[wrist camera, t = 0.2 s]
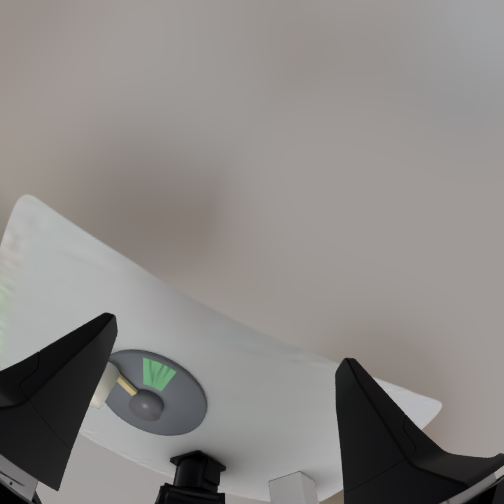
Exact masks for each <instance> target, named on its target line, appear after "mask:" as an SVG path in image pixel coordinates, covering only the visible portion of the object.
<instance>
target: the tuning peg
mask: <svg viewBox="0 0 504 504" xmlns="http://www.w3.org/2000/svg"><path fill="white" fill-rule="evenodd" d="M116 382H118V383H119V384H120V385H121V386H122V387H123V388H124V389H125V390H126V391H128V392H129V393H130V394H131V395H132V397H131V399H130V401H129V409H130V411H131V412H132V413H133V414H134V415H135V416H136V417H138V418H140V419H142V420H145V421H150V422H153V421H157V420H159V419H160V417H161V414H162V411H163V408H164V404H163V402H162V400H161V399H160V398H159V397H158V396H157V395H156V394H154V393H152V392H150V391H146V390H136V389H135V388H134V387H133V386H132V385H131V384H130V383H129V382H128V381H127V380H126V379H125V378H124V377H123V376H122V375H121V374H120V373H119V370H118V369H117V367H116V366H115V365H113V364H112V363H110V362H108V363H107V366H106V368H105V371H104V373H103V375H102V377H101V379H100V382H99V384H98V386H97V388H96V391H95V393H94V395H93V397H92V400H91V402H90V406H91V407H94V408H101V407H102V406H103V404H104V402H105V400H106V399H107V397H108V395H109V394H110V392H111V390H112V388H113V387H114V385H115V383H116Z"/></svg>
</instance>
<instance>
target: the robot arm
mask: <svg viewBox="0 0 504 504" xmlns="http://www.w3.org/2000/svg"><path fill="white" fill-rule="evenodd" d="M117 333H118V329H117V322H116V316H115V315H114V314H110V313H107V312H106V313H103V314H101V315H100V316H98V317H96V318H94V319H93V320H91V321H89V322H87V323H86V324H84V325H82V326H81V327H79V328H77V329H75V330H74V331H72V332H70V333H69V334H67V335H65V336H64V337H62V338H60V339H58V340H57V341H55V342H53V343H52V344H50V345H48V346H47V347H45V348H43V349H42V350H40V352H39V351H38V352H36V353H35V354H33V355H31V356H30V357H28V358H26V359H24V360H23V361H21V362H19V363H17V364H15V365H13V366H10V367H8V368H6V369H4V370H2V371H0V504H42V503H41V501H40V499H39V497H38V495H37V493H36V491H35V489H36V487H37V484H38V481H40V482H42V483H44V484H45V485H47V486H49V487H51V488H52V489H54V490H56V491H58V490H59V488H60V484H61V481H62V477H63V475H64V471H65V468H66V465H67V462H68V459H69V457H70V454H71V450H72V448H73V445H74V442H75V440H76V437H77V434H78V432H79V429H80V427H81V424H82V422H83V419H84V417H85V414H86V412H87V409H88V407H89V405H90V402H91V400H92V397H93V395H94V393H95V391H96V388H97V386H98V384H99V382H100V379H101V377H102V375H103V373H104V371H105V368H106V366H107V363H108V360H109V357H110V354H111V351H112V348H113V345H114V342H115V340H116V337H117ZM335 386H336V413H337V421H338V430H339V439H340V449H341V461H342V473H343V488H344V504H504V475H502V476H501V477H499V478H498V479H496V477H495V474H494V472H495V471H497V470H498V469H499V468H501V467H502V466H504V454H502V453H500V454H498V455H496V456H494V457H491V458H482V457H471V456H463V455H456V454H451V453H448V452H446V451H444V450H443V449H441V448H440V447H439V446H438V445H437V444H436V443H435V442H433V441H432V440H431V439H430V438H429V437H428V436H427V435H426V434H425V433H424V432H422V431H421V430H420V429H419V428H418V427H417V426H416V425H415V424H414V423H413V422H412V421H411V419H410V418H409V417H408V416H407V415H406V414H405V413H404V412H403V411H402V410H401V409H400V407H399V406H398V405H397V404H396V403H395V402H394V401H393V400H392V399H391V398H390V397H389V395H388V394H387V393H386V392H385V391H384V390H383V389H382V388H381V387H380V386H379V385H378V383H377V382H376V381H375V380H374V379H373V378H372V377H371V376H370V375H369V374H368V373H367V371H366V370H365V369H364V368H363V367H362V366H361V365H360V364H359V363H358V362H357V361H356V359H354V358H345V359H344V360H343V361H342V363H341V364H340V366H339V367H338V369H337V370H336V373H335ZM170 462H171V463H173V464H174V465H176V466H177V468H176V473H175V478H174V482H173V485H171V484H168V483H165V484H164V486H161V487H160V490H159V494H158V497H157V499H156V502H155V504H225V493H217V491H218V486H219V484H220V472H222V471H225V470H226V467H225V466H223V465H221V464H220V463H218V462H216V461H215V460H213V459H211V458H210V457H208V456H207V455H205V454H203V453H202V452H200V451H195V452H192V453H188V454H185V455H182V456H178V457H175V458H171V459H170Z"/></svg>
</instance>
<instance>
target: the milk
mask: <svg viewBox="0 0 504 504" xmlns="http://www.w3.org/2000/svg"><path fill="white" fill-rule="evenodd" d="M269 487H270V499H271V504H319V502H318V497H317V493H316V488H315V483H314V481H313V480H312V479H310V478H309V477H307V476H306V475H305V474H303V473H302V472H300V471H299V472H296V473H293V474H291V475H288V476H285V477H282V478H278V479H275V480H272V481H269Z"/></svg>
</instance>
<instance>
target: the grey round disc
mask: <svg viewBox="0 0 504 504" xmlns="http://www.w3.org/2000/svg"><path fill="white" fill-rule="evenodd" d="M108 362H110V363H112V364H113V365H115V366H116V367H117V369H118V370H119V373H120V374H121V375H122V376H123V377H124V378H125V379H126V380H127V381H128V382H129V383H130V384H131V385H132V386H133V387H134V388H135V389H136V390H146V391H150V392H152V393H154V394H156V395H157V396H158V397H159V398H160V399H161V400H162V402H163V404H164V408H163V411H162V414H161V417H160V419H159V420H157V421H153V422H150V421H145V420H142V419H140V418H138V417H136V416H135V415H134V414H133V413H132V412H131V411H130V409H129V401H130V399H131V397H132V395H131V394H130V393H129V392H128V391H126V390H125V389H124V388H123V387H122V386H121V385H120V384H119V383H118V382H116V383H115V385H114V387H113V388H112V390H111V392H110V394H109V395H108V397H107V399H106V400H105V402H106V404H107V405H108V406H109V408H110V409H111V410H112V411H113V412H114V413H115V414H116V415H117V416H119V417H120V418H121V419H123V420H124V421H126V422H127V423H129V424H130V425H132V426H134V427H136V428H138V429H141V430H143V431H146V432H149V433H153V434H158V435H165V436H174V435H181V434H185V433H188V432H191V431H193V430H194V429H196V428H197V427H198V426H199V425H200V424H201V423H202V421H203V419H204V417H205V411H206V398H205V395H204V392H203V390H202V388H201V387H200V385H199V384H198V382H197V381H196V380H195V379H194V378H193V377H192V375H191V374H189V373H188V372H187V371H186V370H185V369H183V368H182V367H181V366H179V365H178V364H176V363H174V362H173V361H171V360H169V359H167V358H165V357H163V356H160V355H157V354H154V353H151V352H147V351H141V350H124V351H119V352H116V353H114V354H112V355H110V357H109V360H108Z"/></svg>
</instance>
